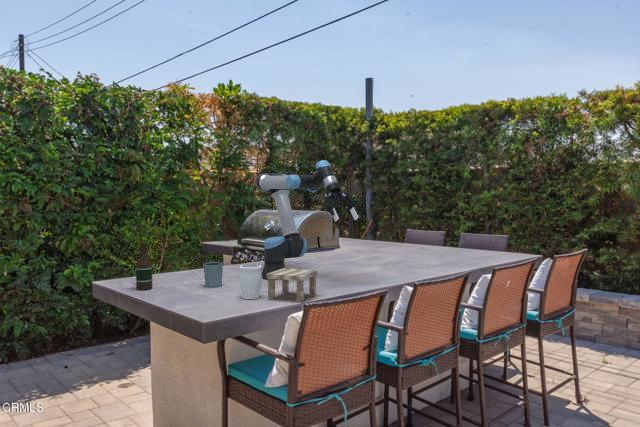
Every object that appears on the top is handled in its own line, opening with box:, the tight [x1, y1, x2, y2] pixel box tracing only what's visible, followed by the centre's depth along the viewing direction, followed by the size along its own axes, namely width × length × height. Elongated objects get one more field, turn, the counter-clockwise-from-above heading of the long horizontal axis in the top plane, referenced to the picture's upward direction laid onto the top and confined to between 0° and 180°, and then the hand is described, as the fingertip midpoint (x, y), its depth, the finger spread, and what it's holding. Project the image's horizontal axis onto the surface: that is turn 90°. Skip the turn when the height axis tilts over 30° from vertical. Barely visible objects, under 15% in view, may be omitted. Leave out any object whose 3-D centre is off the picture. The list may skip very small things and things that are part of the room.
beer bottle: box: [135, 241, 153, 291], centre depth 248 cm, size 8×8×24 cm
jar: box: [239, 264, 263, 300], centre depth 229 cm, size 11×10×15 cm
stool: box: [267, 267, 318, 304], centre depth 230 cm, size 18×18×12 cm
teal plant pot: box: [202, 261, 224, 289], centre depth 256 cm, size 10×10×12 cm
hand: (347, 219), depth 251 cm, fingers open, 13 cm apart
